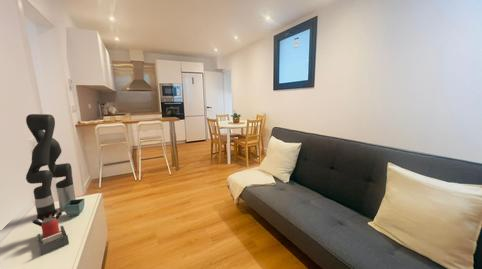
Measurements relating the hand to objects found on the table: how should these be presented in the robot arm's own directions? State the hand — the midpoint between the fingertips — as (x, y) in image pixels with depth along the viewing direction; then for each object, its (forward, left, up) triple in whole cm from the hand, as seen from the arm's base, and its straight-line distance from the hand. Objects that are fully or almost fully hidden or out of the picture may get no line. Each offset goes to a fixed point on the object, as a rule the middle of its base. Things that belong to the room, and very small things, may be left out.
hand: (50, 230), depth 117 cm
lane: (+13, 0, -1) cm, 13 cm away
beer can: (+9, 0, -1) cm, 9 cm away
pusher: (+13, 0, -1) cm, 14 cm away
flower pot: (-12, +14, -1) cm, 19 cm away
